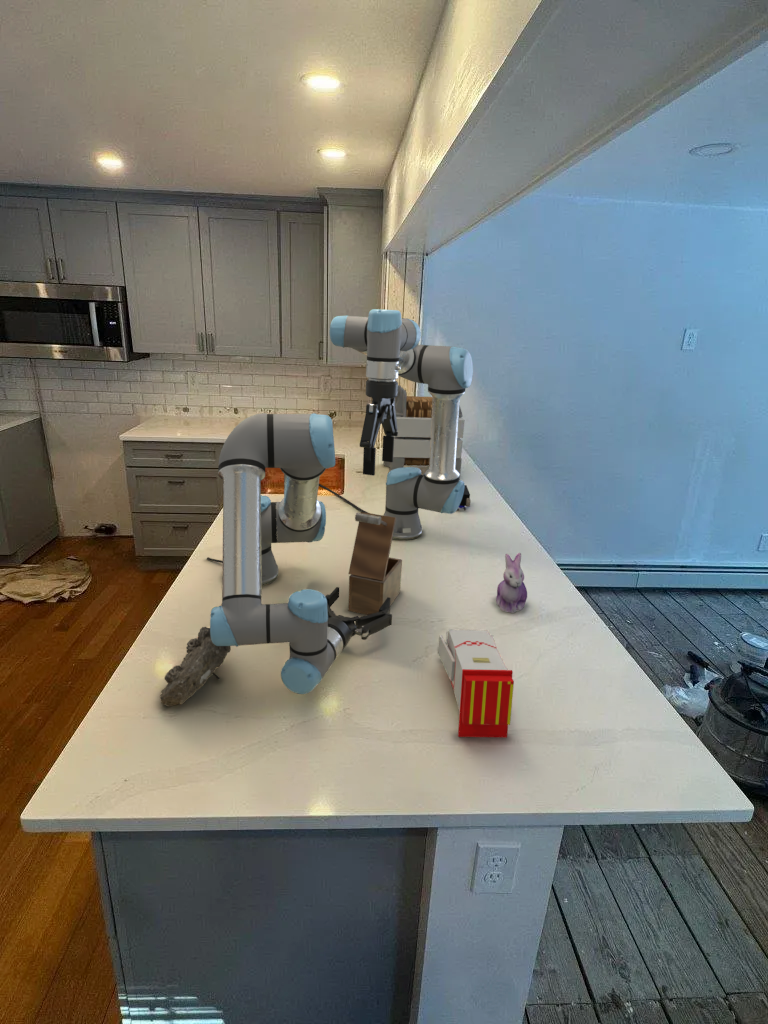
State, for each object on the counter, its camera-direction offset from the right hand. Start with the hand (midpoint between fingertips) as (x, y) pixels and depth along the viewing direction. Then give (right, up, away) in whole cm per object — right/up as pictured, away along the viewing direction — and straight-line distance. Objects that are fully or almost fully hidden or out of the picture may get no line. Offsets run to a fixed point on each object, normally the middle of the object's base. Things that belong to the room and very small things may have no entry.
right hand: (378, 467), depth 139 cm
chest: (-1, -35, +14) cm, 38 cm away
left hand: (-4, -32, +3) cm, 32 cm away
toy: (+19, -48, -21) cm, 56 cm away
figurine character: (+32, -9, +91) cm, 97 cm away
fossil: (-37, -46, -20) cm, 62 cm away
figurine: (+36, -36, +15) cm, 53 cm away
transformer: (+19, +8, +136) cm, 137 cm away
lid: (-1, -20, +5) cm, 20 cm away
